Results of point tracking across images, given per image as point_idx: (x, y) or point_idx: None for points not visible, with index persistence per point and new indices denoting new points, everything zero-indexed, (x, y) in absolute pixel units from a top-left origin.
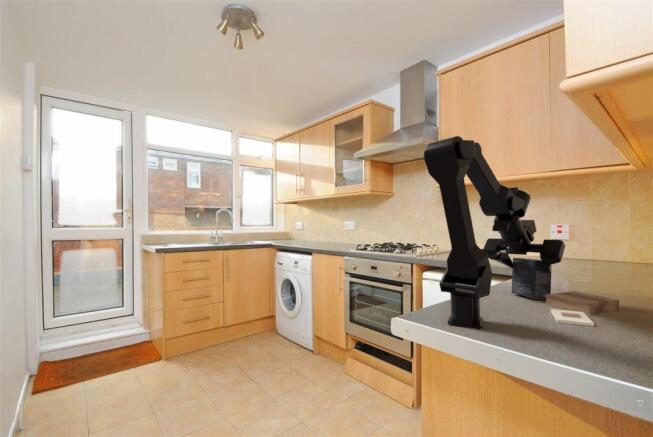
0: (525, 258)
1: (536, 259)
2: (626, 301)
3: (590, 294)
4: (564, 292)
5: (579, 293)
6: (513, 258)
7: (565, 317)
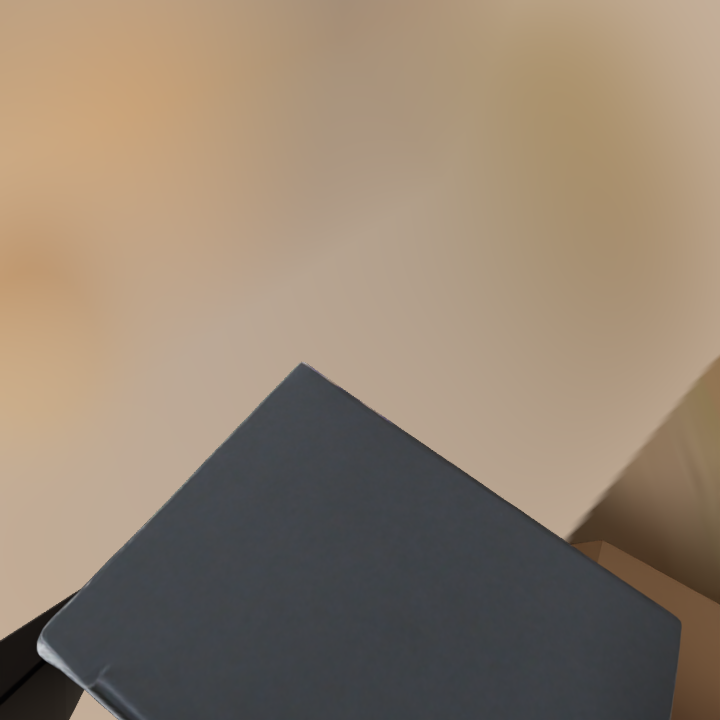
0: (297, 705)
1: (485, 657)
2: (715, 383)
3: (715, 605)
4: None
5: None
6: (51, 655)
7: None
